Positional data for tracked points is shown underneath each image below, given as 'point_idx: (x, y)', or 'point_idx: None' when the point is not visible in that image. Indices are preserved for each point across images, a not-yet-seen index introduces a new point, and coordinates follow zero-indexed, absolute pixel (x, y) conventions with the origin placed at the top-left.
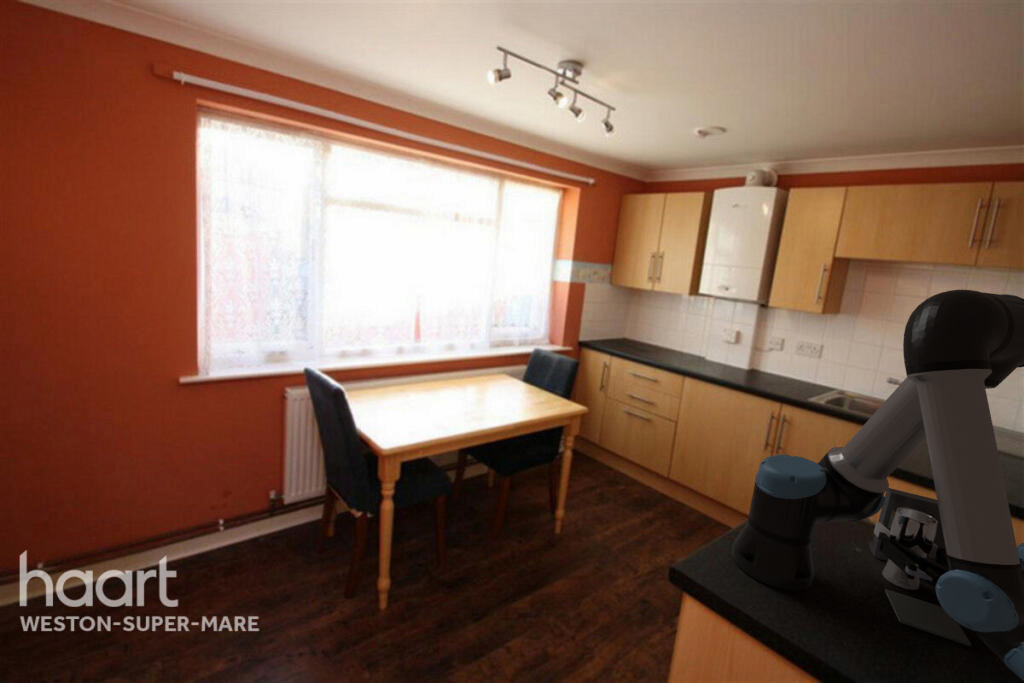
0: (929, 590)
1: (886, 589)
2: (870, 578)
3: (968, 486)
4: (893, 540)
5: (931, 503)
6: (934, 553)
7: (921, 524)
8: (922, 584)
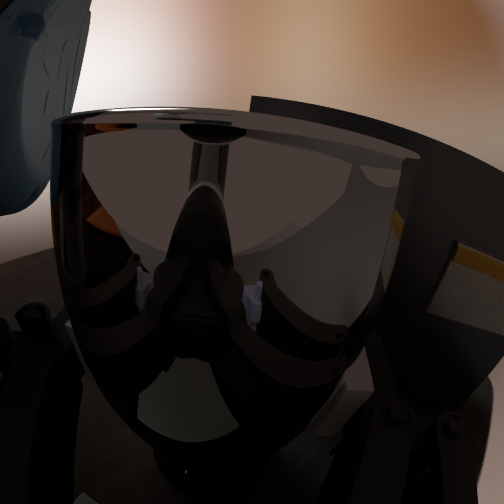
0: (295, 484)
1: (82, 495)
2: (96, 436)
3: None
4: (32, 343)
5: (408, 134)
6: (337, 422)
7: (81, 158)
8: (293, 456)
